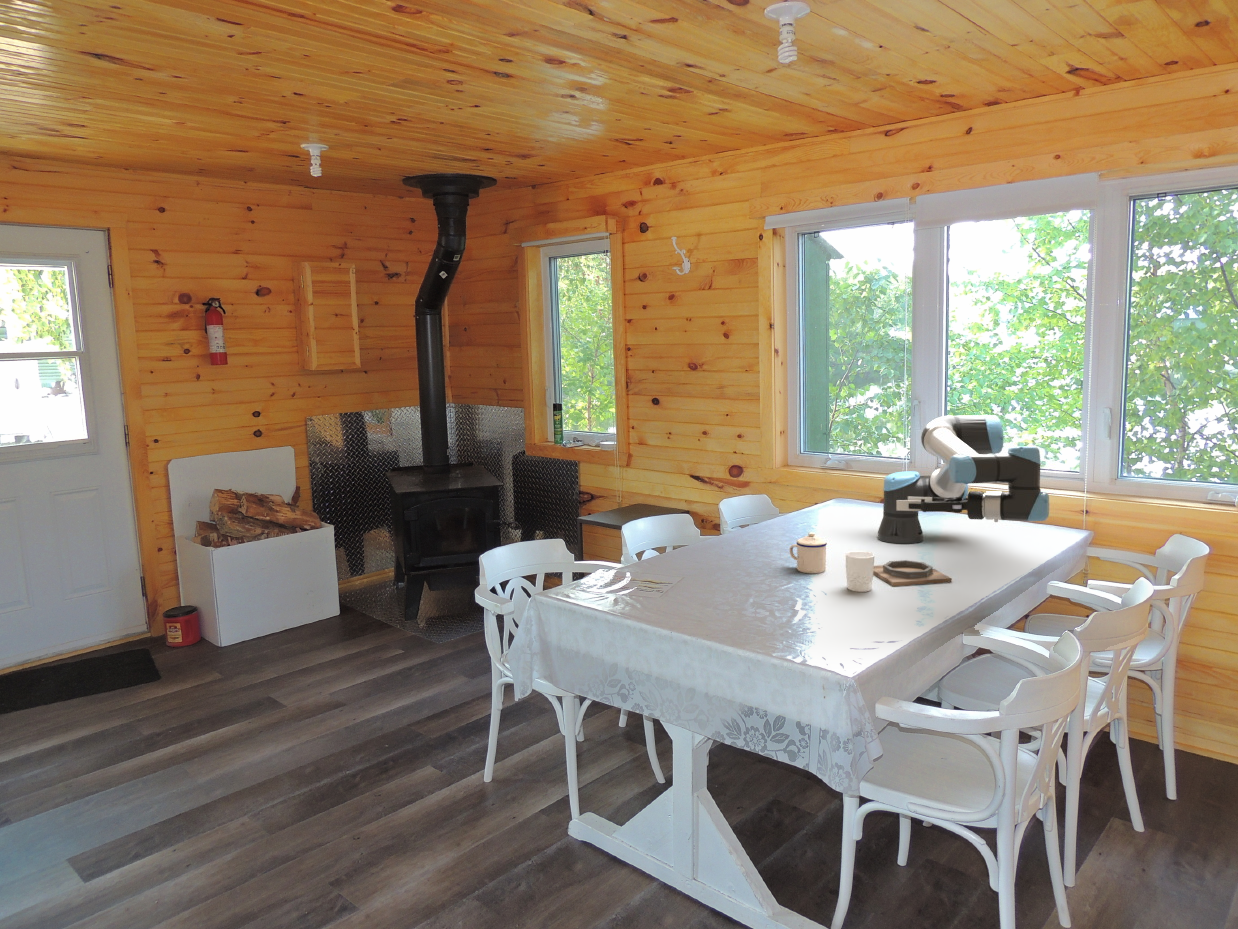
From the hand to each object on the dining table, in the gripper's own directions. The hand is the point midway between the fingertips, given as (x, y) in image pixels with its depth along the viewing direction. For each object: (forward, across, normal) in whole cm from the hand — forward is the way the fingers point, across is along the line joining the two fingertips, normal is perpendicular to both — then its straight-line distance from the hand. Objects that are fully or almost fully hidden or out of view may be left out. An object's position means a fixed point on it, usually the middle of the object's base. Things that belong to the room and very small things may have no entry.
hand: (902, 503), depth 247 cm
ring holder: (+3, +18, -23) cm, 29 cm away
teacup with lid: (+32, +12, -22) cm, 41 cm away
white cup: (+12, -1, -25) cm, 27 cm away
